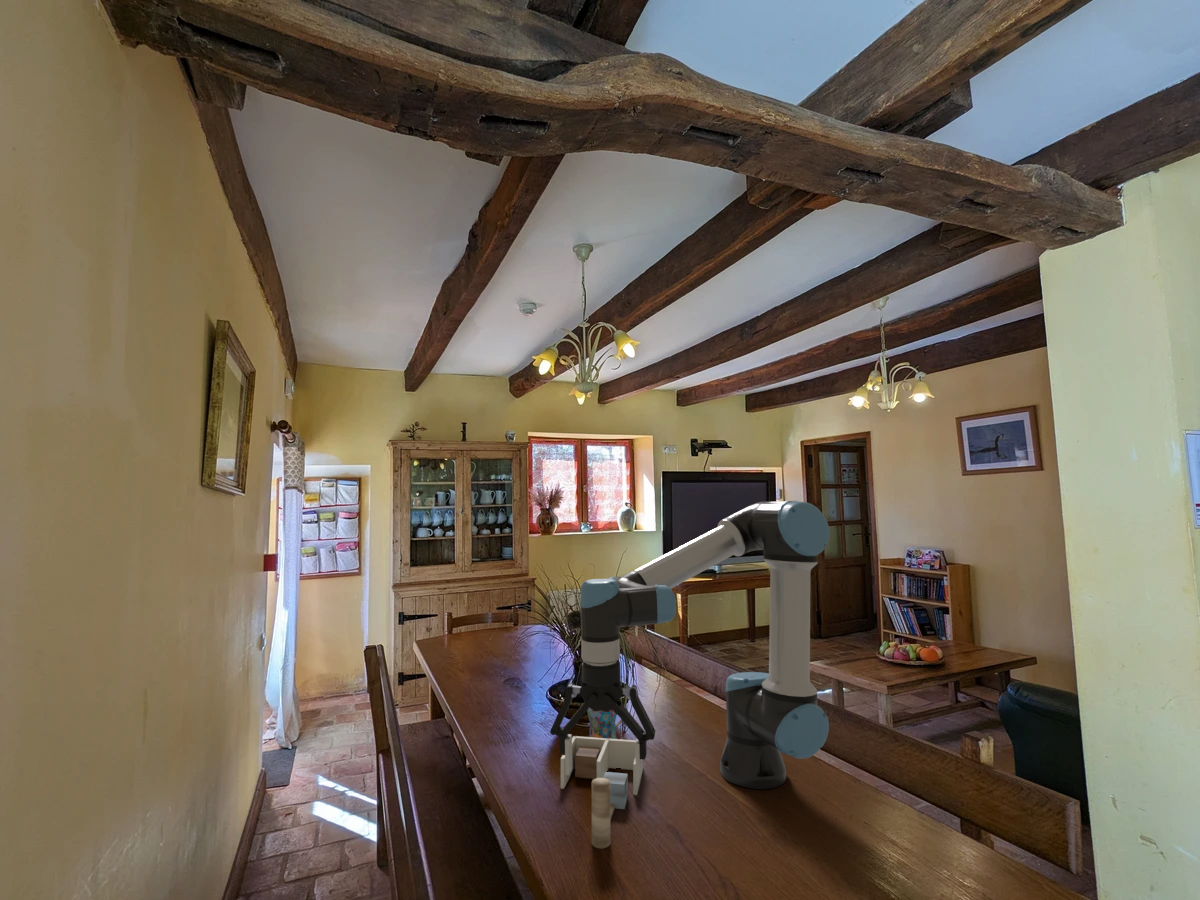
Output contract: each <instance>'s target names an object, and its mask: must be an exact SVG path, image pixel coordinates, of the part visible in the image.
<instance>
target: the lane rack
mask: <svg viewBox="0 0 1200 900" xmlns="http://www.w3.org/2000/svg"><path fill="white" fill-rule="evenodd" d="M635 742H636V739H635V740H634V739H623V738H622V739H621V738H619V739H618V738H617V739H608V738H594V737H589V736H578V735H572V771H571V773H570V775H566V773H565V755H561V757H560V789H561V790H562V789H563V790H564V789H565V787H566V785H567V783H568V782H569V780H570V777H571V776H572V773H573V772H574V770H575V755H576V753H577V751H578V749H579V748H580V747H591V748H600V754H599V757H598V759H597V778H603V776H604V774H605V772H607V771H608V772H609V769H616V768H621V769H620V770H629V771H631V770H632V772H633V774H632V775H633V777H632V778H633V779H632V780H633V782H632V783H633V784H632V785H633V787H632V789H633V792H632V793H633V796H638V794H639V793H638V792H639V789H640V785H641V780H642V775H643V770H644V759H641V771H642V773H641V777H640V780H639V779H636V760H635Z"/></svg>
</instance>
